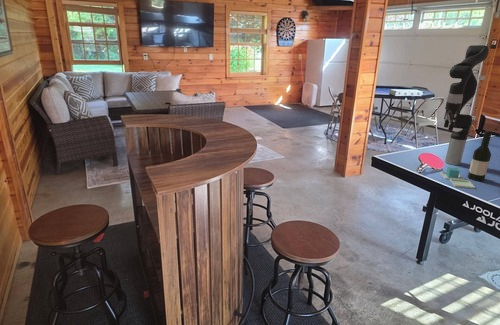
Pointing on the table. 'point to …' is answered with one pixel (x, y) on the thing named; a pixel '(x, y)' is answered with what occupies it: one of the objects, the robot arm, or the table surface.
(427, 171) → the table surface
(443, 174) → the grey tray
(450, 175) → the teal block
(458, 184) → the green tray
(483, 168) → the wine bottle
